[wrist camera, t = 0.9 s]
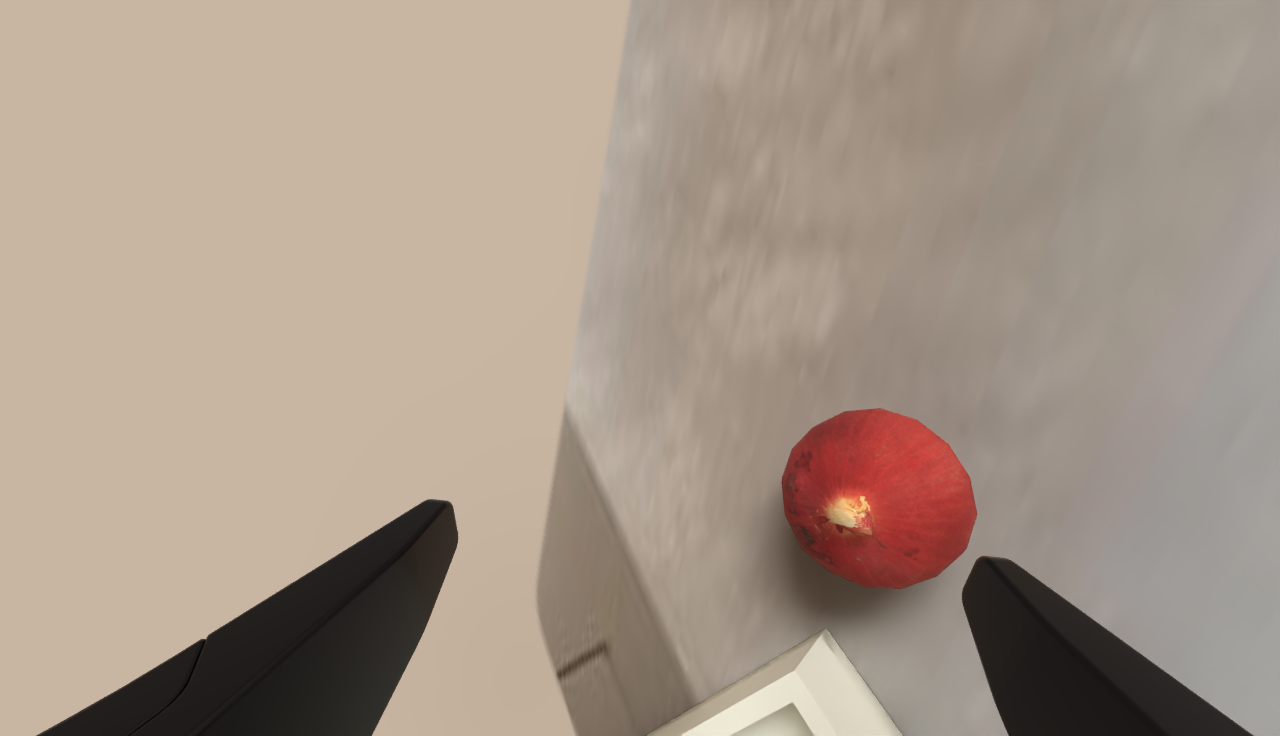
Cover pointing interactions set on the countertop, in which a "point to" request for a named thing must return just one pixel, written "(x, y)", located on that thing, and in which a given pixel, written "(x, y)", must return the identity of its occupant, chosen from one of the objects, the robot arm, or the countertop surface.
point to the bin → (791, 700)
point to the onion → (878, 499)
